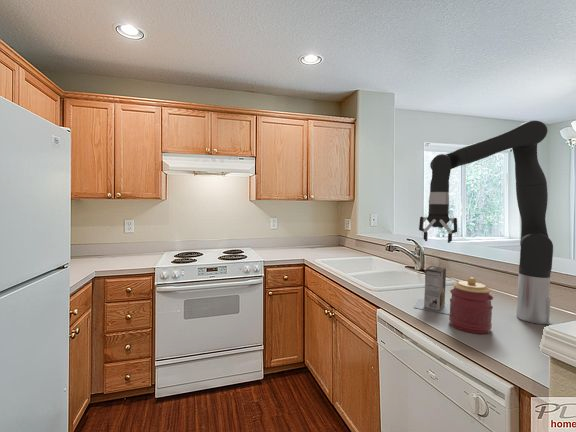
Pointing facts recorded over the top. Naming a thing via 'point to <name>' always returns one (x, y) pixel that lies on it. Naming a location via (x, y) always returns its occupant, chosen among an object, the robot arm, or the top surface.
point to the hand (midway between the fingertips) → (437, 241)
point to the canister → (471, 307)
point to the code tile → (444, 309)
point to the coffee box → (435, 287)
